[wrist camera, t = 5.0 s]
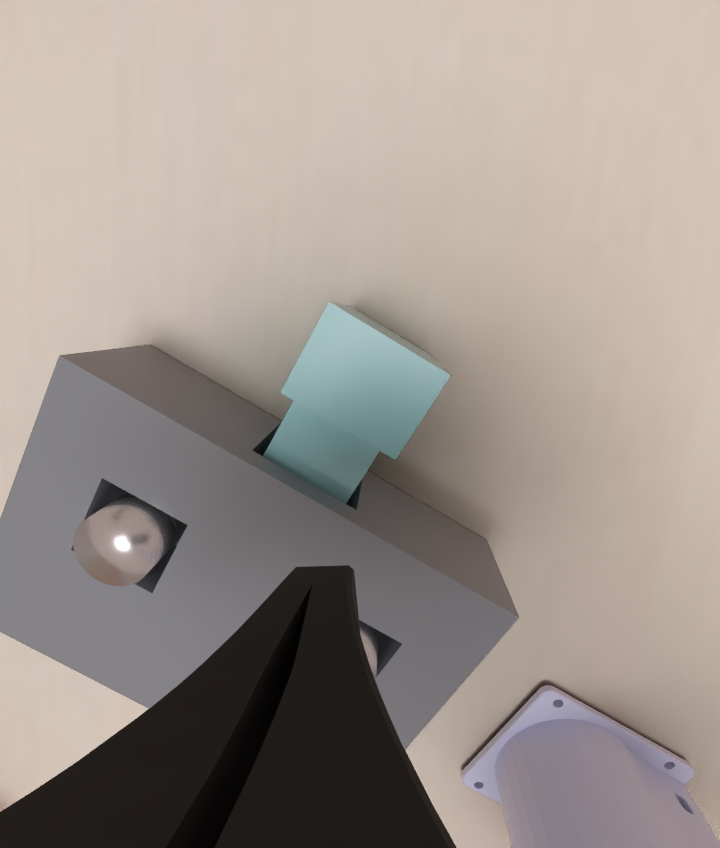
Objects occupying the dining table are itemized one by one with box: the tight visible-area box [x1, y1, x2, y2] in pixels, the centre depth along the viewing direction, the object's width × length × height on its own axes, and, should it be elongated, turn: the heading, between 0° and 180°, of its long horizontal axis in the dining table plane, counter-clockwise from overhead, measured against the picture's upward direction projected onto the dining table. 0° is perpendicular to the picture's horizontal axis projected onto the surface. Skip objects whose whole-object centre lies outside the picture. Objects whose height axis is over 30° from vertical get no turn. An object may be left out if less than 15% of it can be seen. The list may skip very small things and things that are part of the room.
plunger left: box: [73, 492, 187, 586], centre depth 15 cm, size 3×3×3 cm
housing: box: [0, 345, 519, 749], centre depth 18 cm, size 18×12×5 cm, turn 60°
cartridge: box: [263, 302, 451, 504], centre depth 16 cm, size 4×15×6 cm, turn 150°
